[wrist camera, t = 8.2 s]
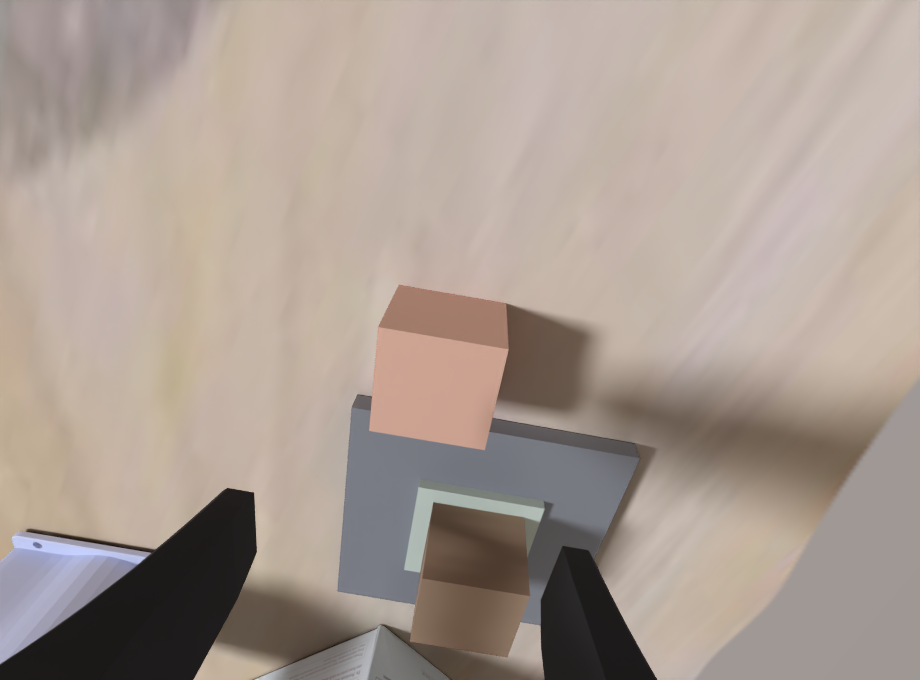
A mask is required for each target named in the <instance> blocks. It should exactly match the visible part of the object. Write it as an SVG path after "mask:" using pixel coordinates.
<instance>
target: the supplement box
mask: <svg viewBox="0 0 920 680" xmlns="http://www.w3.org/2000/svg"><path fill="white" fill-rule="evenodd" d="M254 680H451V679H449V678H448V677H447V676H446V675H444V674H443V673H442V672H441V671H439V670H438V669H437V668H436V667H434V666H433V665H432V664H431V663H429V662H428V661H427V660H426V659H424V658H423V657H422V656H421V655H420V654H418V653H417V652H416V651H415V650H413V649H412V648H411V647H410V646H408V645H407V644H406V643H405V642H403V641H402V640H401V639H399V638H398V637H397V636H396V635H394V634H393V633H392V632H391V631H390V630H388V629H387V628H386V627H384V626H382V625H379V626H378V628H377V629H375V630H373V631H370V632H368V633H365V634H363V635H360V636H358V637H356V638H353V639H351V640H348V641H346V642H344V643H341V644H339V645H336V646H334V647H331V648H329V649H327V650H324V651H322V652H319V653H317V654H315V655H312V656H310V657H307V658H305V659H302V660H300V661H298V662H295V663H293V664H290V665H288V666H286V667H283V668H281V669H278V670H276V671H273V672H271V673H269V674H266V675H264V676H261V677H259V678H257V679H254Z"/></svg>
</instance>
